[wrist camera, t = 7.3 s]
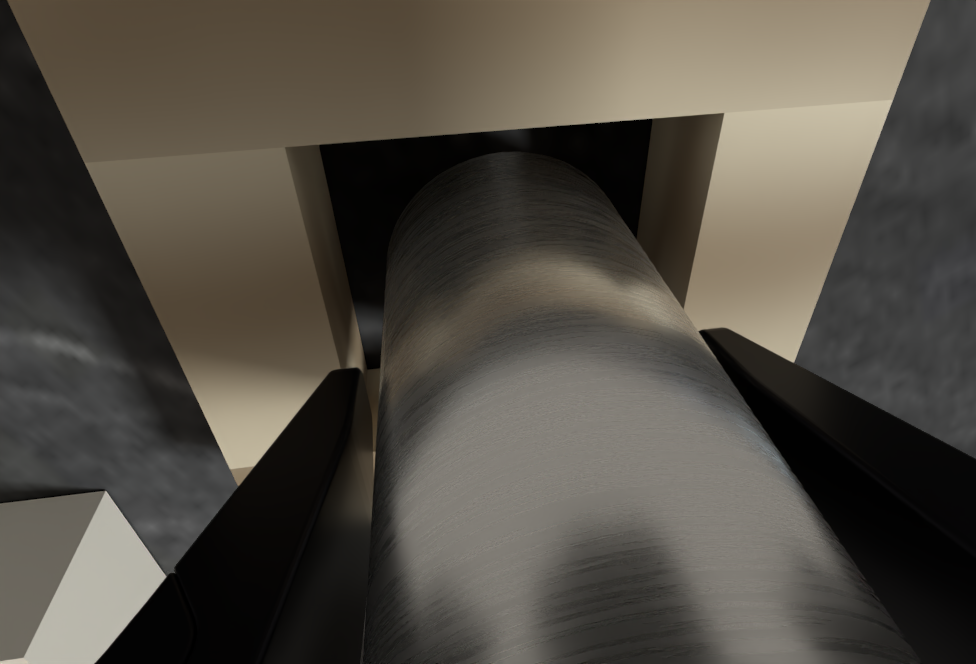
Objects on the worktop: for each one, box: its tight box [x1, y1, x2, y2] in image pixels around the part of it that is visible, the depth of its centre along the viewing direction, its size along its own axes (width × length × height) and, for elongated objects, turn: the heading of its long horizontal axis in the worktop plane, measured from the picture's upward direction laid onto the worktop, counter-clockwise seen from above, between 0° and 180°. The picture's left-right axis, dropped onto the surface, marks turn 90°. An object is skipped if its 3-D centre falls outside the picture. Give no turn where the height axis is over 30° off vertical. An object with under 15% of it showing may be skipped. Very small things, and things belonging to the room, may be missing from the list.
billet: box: [363, 152, 922, 664], centre depth 7 cm, size 4×4×8 cm
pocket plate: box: [7, 0, 930, 486], centre depth 11 cm, size 11×11×2 cm
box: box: [0, 491, 166, 664], centre depth 14 cm, size 6×6×4 cm
